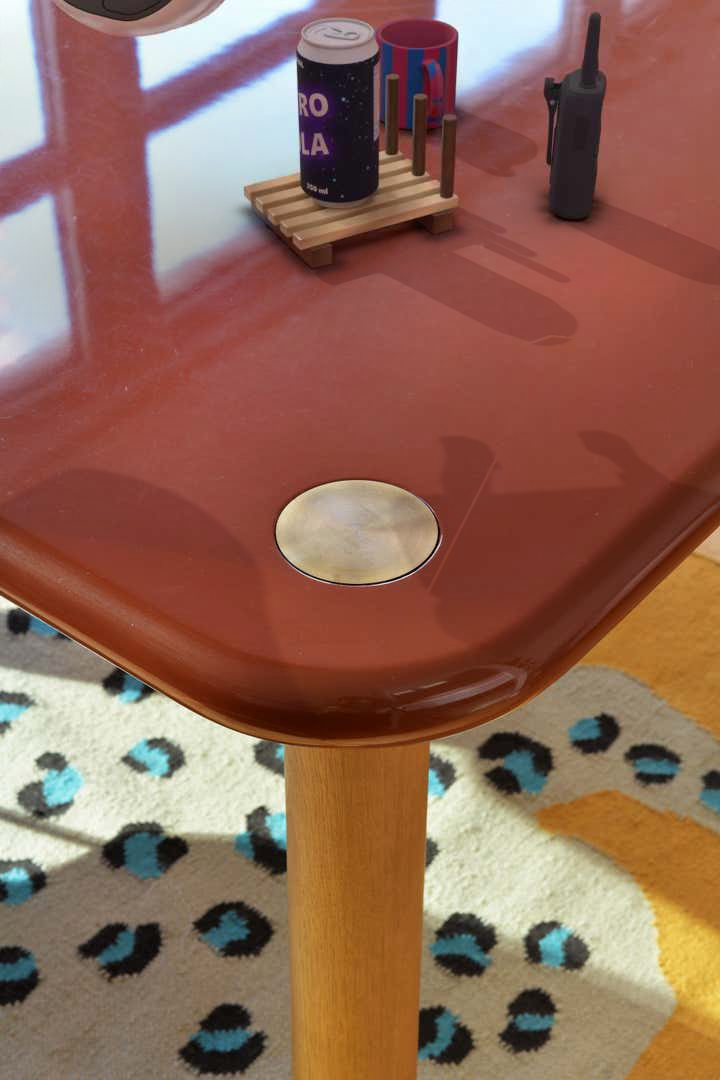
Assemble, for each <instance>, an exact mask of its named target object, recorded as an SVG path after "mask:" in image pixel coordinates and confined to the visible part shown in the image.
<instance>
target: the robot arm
mask: <svg viewBox="0 0 720 1080" xmlns="http://www.w3.org/2000/svg"><path fill="white" fill-rule="evenodd" d="M51 1H52V2H53V3H54V4H55V5H56V6H58V8H60V10H62V11H63V12H64V13H66V15H68V16H70V17H71V18H73V19H74V20H75V21H77V22H78V23H80V24H82V25H84V26H86V27H88V28H90V29H92V30H94V31H97V32H99V33H103V34H106V35H111V36H115V37H125V38H136V37H137V38H138V37H139V38H140V37H149V36H155V35H160V34H164V33H167V32H171V31H172V30H173V31H174V30H178V29H180V28H184V27H186V26H189V25H192V24H195V23H197V22H199V21H202V20H203V19H205V18H207V17H208V16H210V15H211V14H212V13H214V12H215V11H216V10H217V9H218V8H219V7H221V6H222V5H223V3H224V2H225V1H226V0H51Z"/></svg>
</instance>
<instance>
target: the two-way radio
mask: <svg viewBox="0 0 720 1080" xmlns="http://www.w3.org/2000/svg"><path fill="white" fill-rule="evenodd" d="M601 23H602V16H601V13H600V12H599V11H593V12H591V13H590V15H589V19H588V23H587V24H588V25H587V30H586V36H585V37H586V38H585V44H584V52H583V59H582V63H581V66H580V67H581V68H577V69H574V70H572V71H571V72H569V73H567V74H566V75H565V76H564V77H563V79H562V81H561V82H555V77H548V76H547V77H545V78H544V84H543V85H544V86H543V97H544V99H545V102H546V105H547V111H548V129H547V130H548V131H547V144H546V145H547V146H546V155H545V157H546V158H545V159H546V160H545V161H546V164H547V166H548V167H550V171H549V182H548V184H549V193H548V209H549V211H550V212H551V213H552V214H554V215H557V216H558V217H559V218H562V219H568V220H582V219H585V218H587V217H588V216H589V215H590V213H591V209H592V205H593V202H594V198H595V193H596V184H597V177H598V157H599V151H600V143H601V135H602V116H603V115H602V114H603V108H604V107H603V106H604V100H605V96H606V91H607V77H606V74H605V72H603V71H602V70H599V68H600V65H599V64H600V63H599V49H600V38H601ZM555 115H556V118H555ZM555 120H556V121H555ZM554 125H555V126H554Z"/></svg>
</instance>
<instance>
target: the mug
mask: <svg viewBox="0 0 720 1080" xmlns="http://www.w3.org/2000/svg"><path fill="white" fill-rule="evenodd" d="M375 40H376V42H377V44H378V46H379V49H380V97H379V121H381V122H382V123H384V124H385V113H386V76H387V75H389V74H397V75H399V129H402V130H408V131H413V98H414V95H416V94H425V95H427V127H426V130H432V129H436V128H440V127H442V123H443V116H445V115H448V114H451V115H455V116H456V98H457V78H458V77H457V75H458V54H459V53H458V52H459V32H458V29H456V27H454V26H453V25H451V24H449V23H447V22H444V21H441V20H437V19H432V18H425V17H423V18H421V17H412V18H409V17H408V18H401V19H395V20H392V21H389V22H386V23H384V24H383V25H381V26H379V28H377V30H376V32H375Z"/></svg>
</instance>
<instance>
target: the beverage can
mask: <svg viewBox="0 0 720 1080" xmlns="http://www.w3.org/2000/svg"><path fill="white" fill-rule="evenodd" d="M300 35H301V38H300V40H299V43H298V44H297V47H296V50H295V60H296V61H295V62H296V89H297V92H296V93H297V117H298V147H299V172H300V181H301V188H302V190H303V191H304V192H305V193H306V194H307V195H309V196H310V197H312V199H313V200H314V201H315V202H316V203H317V204H319V205H321V206H324V207H328V208H335V209H344V208H351V207H355V206H358V205H360V204H362V203H364V202H365V201H366V200H367V198H368V197H369V196H370V195H372V194H373V193H374V192H375V191H376V190H377V188H378V186H379V152H380V119H379V97H380V49H379V46H378V44H377V42H376V37H375V30H374V28H373V26H371V25H370V24H369V23H367V22H365V21H363V20H360V19H354V18H347V17H327V18H322V19H317V20H314V21H312V22H309V23H308V24H306V25H305V26H303V27H302V29H301V32H300Z"/></svg>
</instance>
